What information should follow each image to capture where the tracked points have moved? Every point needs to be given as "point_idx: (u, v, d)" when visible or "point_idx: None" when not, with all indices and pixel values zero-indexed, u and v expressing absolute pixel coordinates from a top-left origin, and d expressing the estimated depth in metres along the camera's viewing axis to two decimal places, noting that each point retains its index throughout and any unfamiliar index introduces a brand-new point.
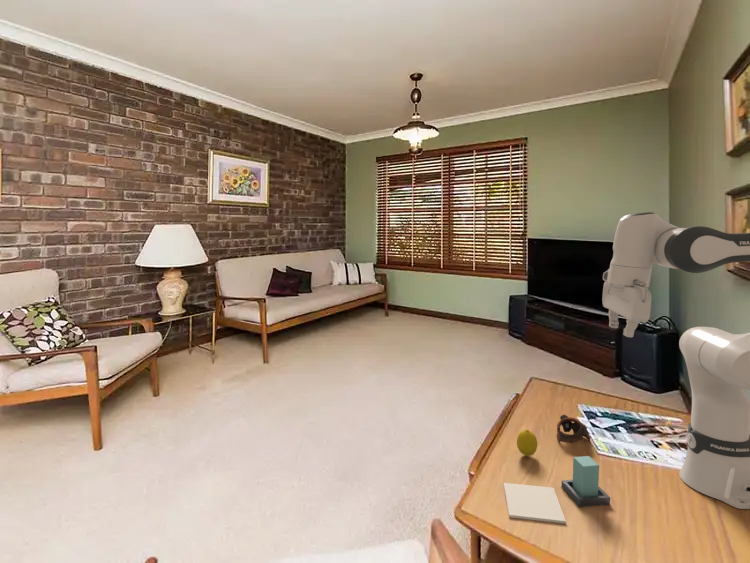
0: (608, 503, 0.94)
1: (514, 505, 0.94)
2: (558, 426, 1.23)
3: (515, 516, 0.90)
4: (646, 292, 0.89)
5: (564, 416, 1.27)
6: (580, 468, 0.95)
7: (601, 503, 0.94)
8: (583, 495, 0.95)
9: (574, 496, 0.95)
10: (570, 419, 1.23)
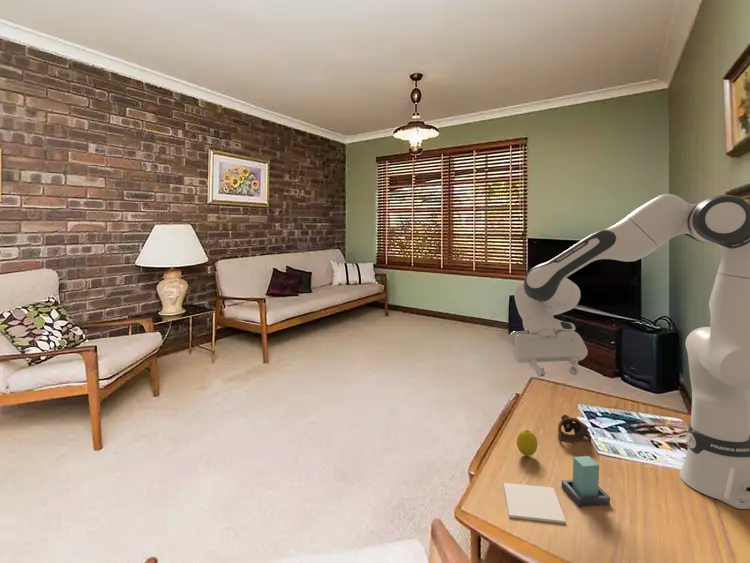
0: (608, 503, 0.94)
1: (514, 505, 0.94)
2: (559, 426, 1.23)
3: (515, 516, 0.90)
4: (509, 338, 1.13)
5: (565, 416, 1.27)
6: (580, 468, 0.95)
7: (601, 503, 0.94)
8: (583, 495, 0.95)
9: (574, 496, 0.95)
10: (571, 419, 1.23)
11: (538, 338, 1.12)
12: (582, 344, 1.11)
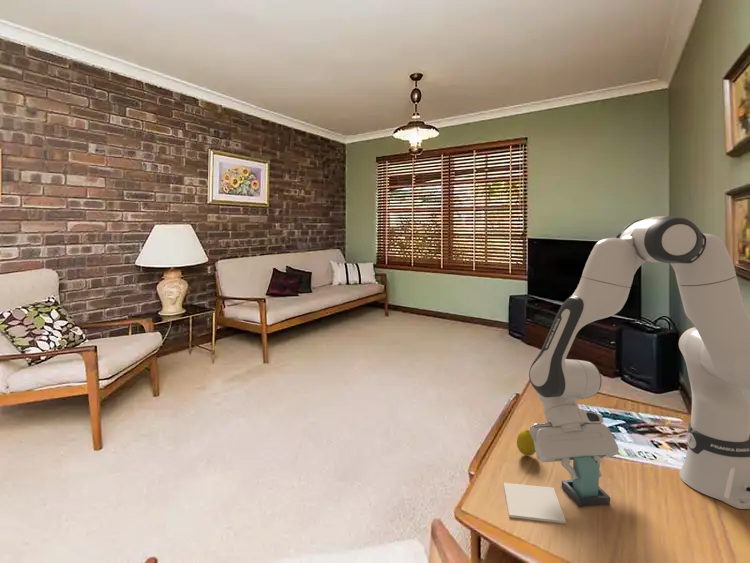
0: (608, 503, 0.94)
1: (514, 505, 0.94)
2: None
3: (515, 516, 0.90)
4: (530, 432, 1.03)
5: None
6: (580, 468, 0.95)
7: (601, 503, 0.94)
8: (583, 495, 0.95)
9: (574, 496, 0.95)
10: None
11: (562, 433, 1.01)
12: (612, 440, 1.00)
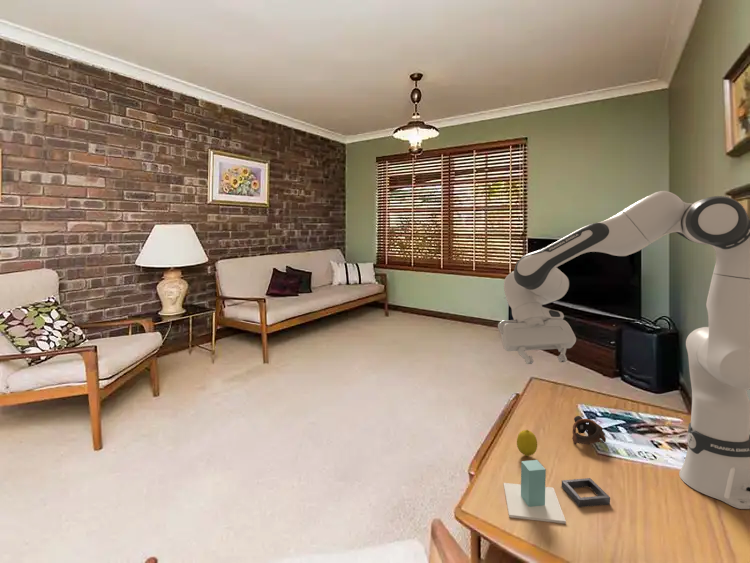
0: (608, 503, 0.94)
1: (514, 505, 0.94)
2: (574, 428, 1.21)
3: (515, 516, 0.90)
4: (498, 327, 1.14)
5: (578, 417, 1.26)
6: (527, 472, 0.93)
7: (601, 503, 0.94)
8: (529, 500, 0.93)
9: (574, 496, 0.95)
10: (585, 420, 1.22)
11: (526, 326, 1.12)
12: (570, 332, 1.12)
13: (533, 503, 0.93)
